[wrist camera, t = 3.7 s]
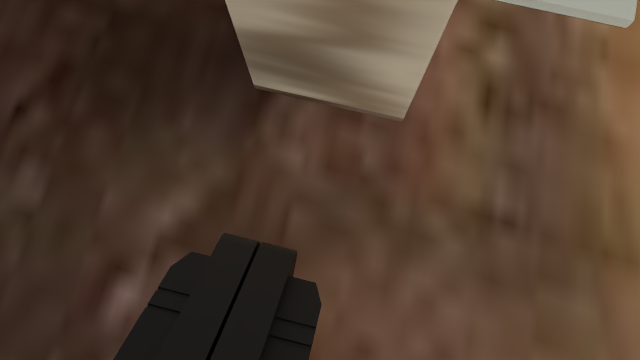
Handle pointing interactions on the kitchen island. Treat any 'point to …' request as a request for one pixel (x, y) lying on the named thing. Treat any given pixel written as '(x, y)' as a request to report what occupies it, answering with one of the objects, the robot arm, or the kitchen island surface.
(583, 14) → the sage mat
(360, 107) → the birch block
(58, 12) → the kitchen island surface
